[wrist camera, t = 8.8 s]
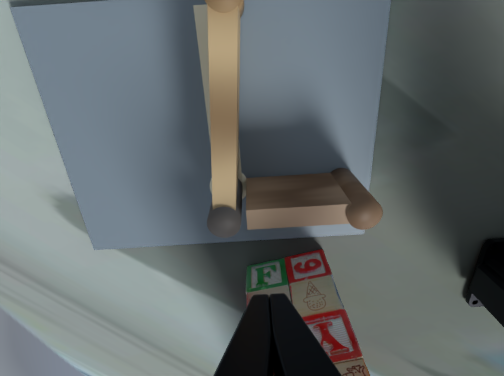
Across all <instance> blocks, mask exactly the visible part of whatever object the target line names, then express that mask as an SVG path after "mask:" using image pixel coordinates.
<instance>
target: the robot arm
mask: <svg viewBox="0 0 504 376" xmlns="http://www.w3.org/2000/svg"><path fill="white" fill-rule="evenodd" d="M466 302H467V303H468V304H469V306H471V307H480V306H484V307H485V308H486V309H487V310H488V311H489V312H490V313H491V314H492V315H493V316H494V317H495V318H496V319H497V320H498V322H499V323H500V324H501V325H502V326H503V327H504V238H498V239H489V240H487V241H486V242H484V244H483V247H482V250H481V253H480V256H479V259H478V262H477V265H476V269H475V272H474V275H473V278H472V281H471V284H470V287H469V290H468V293H467V297H466ZM214 376H342V375H341V373H340V372H339V370H338V369H337V368H336V366H335V365H334V363H333V362H332V360H331V359H330V357H329V356H328V355H327V353H326V352H325V350H324V349H323V347H322V346H321V344H320V343H319V341H318V340H317V339H316V337H315V336H314V334H313V333H312V331H311V330H310V328H309V327H308V326H307V324H306V323H305V321H304V320H303V318H302V317H301V315H300V314H299V313H298V311H297V310H296V308H295V307H294V305H293V304H292V302H291V301H290V300H289V298H288V297H287V295H286V294H284V293H274V294H270V295H269V296H268V294H255V295H253V296H252V297H251V299H250V301H249V303H248V305H247V308H246V310H245V312H244V314H243V316H242V318H241V320H240V322H239V324H238V326H237V328H236V330H235V332H234V334H233V336H232V338H231V341H230V343H229V345H228V347H227V349H226V351H225V353H224V355H223V357H222V359H221V361H220V363H219V365H218V367H217V369H216V371H215V374H214Z"/></svg>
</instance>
